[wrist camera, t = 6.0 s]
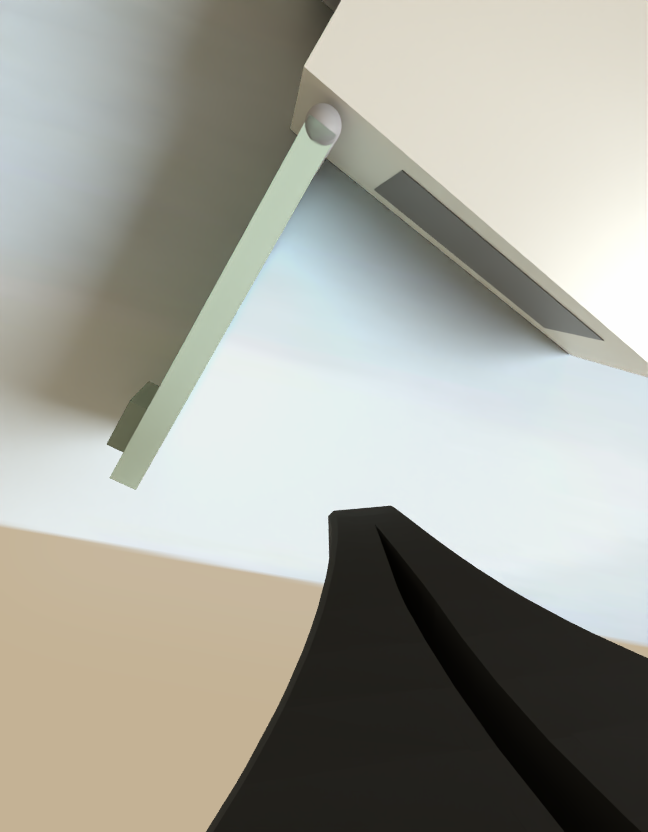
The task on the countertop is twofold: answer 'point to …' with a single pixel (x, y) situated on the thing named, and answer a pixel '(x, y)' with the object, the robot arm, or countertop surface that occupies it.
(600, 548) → the countertop surface
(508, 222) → the camera box
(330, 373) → the countertop surface
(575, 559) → the countertop surface
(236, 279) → the side door
